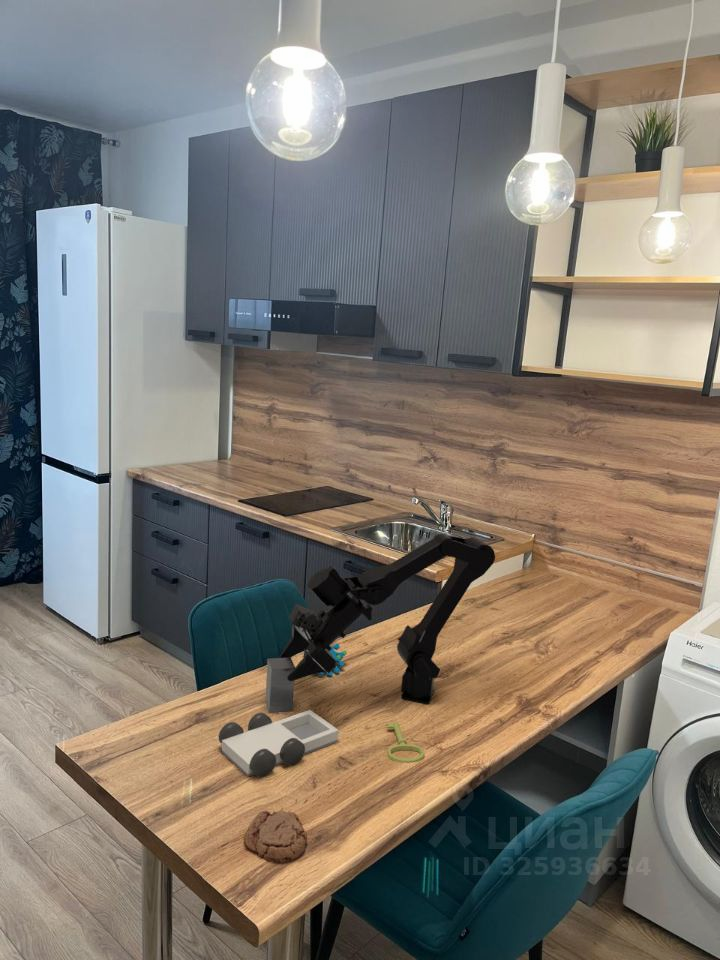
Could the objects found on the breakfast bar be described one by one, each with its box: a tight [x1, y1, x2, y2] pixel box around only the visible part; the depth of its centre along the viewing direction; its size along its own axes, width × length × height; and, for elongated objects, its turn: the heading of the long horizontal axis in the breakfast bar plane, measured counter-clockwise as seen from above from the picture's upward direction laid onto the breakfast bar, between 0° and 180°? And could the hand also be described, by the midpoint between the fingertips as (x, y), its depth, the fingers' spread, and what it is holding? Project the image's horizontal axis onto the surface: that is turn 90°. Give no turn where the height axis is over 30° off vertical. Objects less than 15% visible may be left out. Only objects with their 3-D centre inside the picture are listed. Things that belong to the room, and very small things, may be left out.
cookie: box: [243, 809, 308, 864], centre depth 115 cm, size 10×11×3 cm
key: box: [385, 721, 425, 764], centre depth 144 cm, size 7×12×2 cm, turn 28°
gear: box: [306, 643, 348, 678], centre depth 175 cm, size 11×6×10 cm
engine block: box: [265, 657, 296, 714], centre depth 155 cm, size 5×5×10 cm
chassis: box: [218, 709, 339, 778], centre depth 141 cm, size 21×13×5 cm, turn 131°
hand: (284, 669), depth 155 cm, fingers open, 9 cm apart
